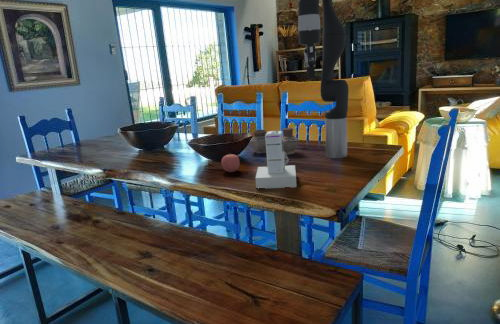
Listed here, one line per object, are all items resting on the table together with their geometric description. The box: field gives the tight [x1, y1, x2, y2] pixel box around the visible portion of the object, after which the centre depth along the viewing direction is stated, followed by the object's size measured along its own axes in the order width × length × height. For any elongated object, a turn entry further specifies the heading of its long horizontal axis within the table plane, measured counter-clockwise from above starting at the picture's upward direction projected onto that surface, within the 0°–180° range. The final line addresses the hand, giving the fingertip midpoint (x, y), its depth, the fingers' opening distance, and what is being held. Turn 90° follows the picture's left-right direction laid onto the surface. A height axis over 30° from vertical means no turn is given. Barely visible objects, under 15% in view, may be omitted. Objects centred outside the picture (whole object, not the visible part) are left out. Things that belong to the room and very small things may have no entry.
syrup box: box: [265, 130, 285, 174], centre depth 132 cm, size 6×6×14 cm
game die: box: [284, 150, 292, 166], centre depth 150 cm, size 9×8×10 cm
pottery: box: [249, 127, 300, 155], centre depth 178 cm, size 11×25×12 cm, turn 65°
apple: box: [220, 153, 241, 173], centre depth 151 cm, size 7×7×8 cm
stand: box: [255, 164, 297, 190], centre depth 134 cm, size 14×14×4 cm
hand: (310, 77), depth 131 cm, fingers open, 8 cm apart
